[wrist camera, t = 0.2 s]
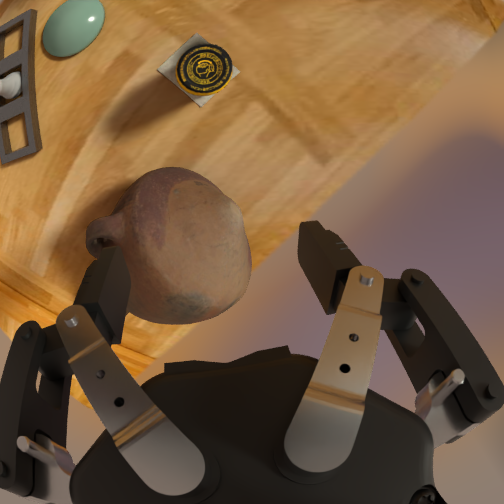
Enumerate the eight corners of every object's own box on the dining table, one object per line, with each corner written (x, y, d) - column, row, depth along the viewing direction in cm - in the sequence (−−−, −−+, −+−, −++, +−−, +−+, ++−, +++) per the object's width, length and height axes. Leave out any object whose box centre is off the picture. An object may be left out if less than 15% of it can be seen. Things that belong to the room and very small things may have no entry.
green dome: (47, 10, 17) (44, 10, 16) (107, -11, 19) (105, -13, 18) (44, 65, 23) (42, 65, 22) (104, 45, 24) (102, 45, 24)
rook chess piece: (23, 65, 21) (-7, 67, 15) (29, 88, 24) (-1, 93, 17) (4, 81, 21) (-26, 87, 15) (10, 103, 24) (-20, 112, 17)
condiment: (201, 107, 33) (203, 115, 23) (157, 69, 29) (140, 61, 19) (240, 71, 31) (259, 65, 21) (196, 33, 27) (197, 10, 17)
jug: (206, 127, 35) (89, 236, 45) (147, 154, 18) (27, 302, 29) (288, 235, 43) (159, 309, 53) (296, 329, 26) (125, 388, 36)
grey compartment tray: (0, 31, 15) (-6, 30, 13) (37, 10, 16) (31, 8, 15) (8, 160, 29) (2, 164, 27) (42, 148, 30) (36, 151, 28)
